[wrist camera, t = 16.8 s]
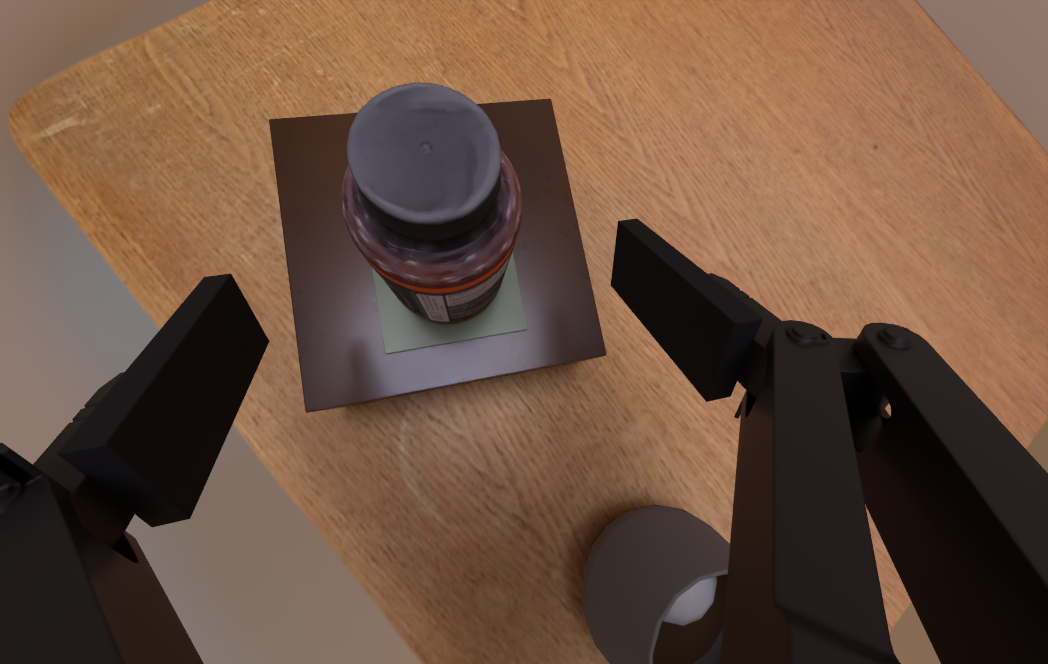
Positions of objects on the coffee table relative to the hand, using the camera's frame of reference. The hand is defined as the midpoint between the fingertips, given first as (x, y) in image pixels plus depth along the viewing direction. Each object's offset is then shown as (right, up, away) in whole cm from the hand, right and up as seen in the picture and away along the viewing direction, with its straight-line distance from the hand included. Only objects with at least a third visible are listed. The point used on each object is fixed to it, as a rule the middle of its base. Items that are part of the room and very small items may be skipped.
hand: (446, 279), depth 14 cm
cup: (+10, -18, +13) cm, 24 cm away
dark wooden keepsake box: (-3, +2, +13) cm, 14 cm away
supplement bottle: (-1, +1, +7) cm, 8 cm away
